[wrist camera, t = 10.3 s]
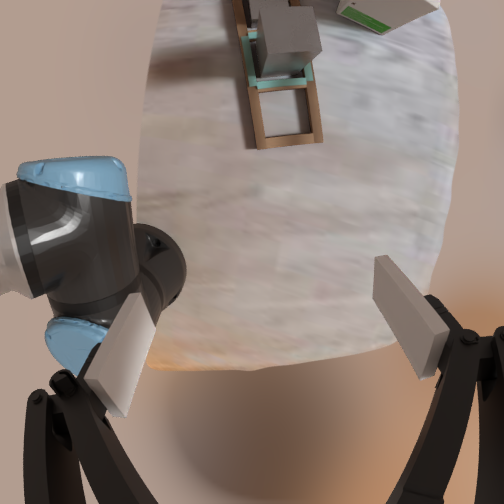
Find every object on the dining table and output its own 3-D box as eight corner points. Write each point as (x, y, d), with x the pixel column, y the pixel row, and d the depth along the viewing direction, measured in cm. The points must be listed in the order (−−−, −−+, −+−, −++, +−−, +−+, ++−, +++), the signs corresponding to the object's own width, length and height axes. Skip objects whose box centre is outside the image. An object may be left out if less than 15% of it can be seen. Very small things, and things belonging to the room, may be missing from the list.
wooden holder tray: (257, 148, 39) (257, 149, 38) (230, -8, 29) (229, -13, 27) (320, 141, 39) (324, 142, 37) (293, -14, 28) (295, -19, 27)
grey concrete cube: (251, 28, 32) (251, 19, 28) (247, 0, 30) (247, -10, 26) (286, 26, 32) (290, 17, 28) (282, -1, 30) (285, -12, 26)
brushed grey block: (260, 78, 35) (267, 53, 21) (255, 46, 33) (259, 8, 19) (296, 74, 35) (322, 50, 21) (290, 43, 33) (312, 6, 19)
